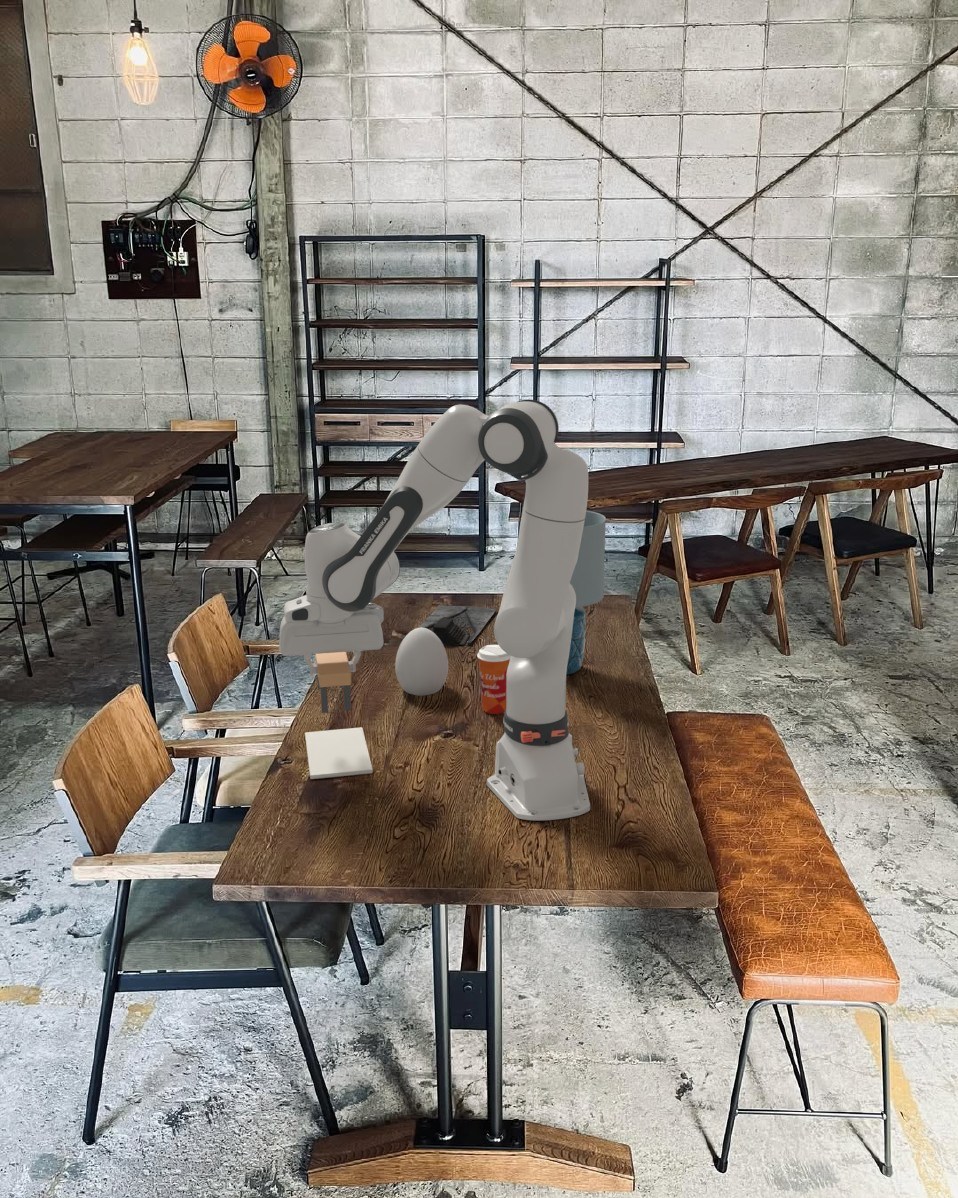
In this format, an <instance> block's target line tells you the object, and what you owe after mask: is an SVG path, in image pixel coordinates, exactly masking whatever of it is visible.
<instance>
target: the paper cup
mask: <svg viewBox="0 0 958 1198" xmlns="http://www.w3.org/2000/svg"><path fill="white" fill-rule="evenodd" d="M476 656H477V658H478V667H479V683H480V695H481V707H482V711H483V710H484V711H485V712H484V711H483V712H484V713H486V712H487V713H486V714H490V715H499V714H504V712H505V710H506V674H507V669H508V665H509V662H510V657H511V655H509V654H507V653H506V652H505V651H503V650H502V649H501V647H500V646H499V645H498V644H488V645H484V646H483V647H481V648H480V649H479V650H478V653H477V655H476Z"/></svg>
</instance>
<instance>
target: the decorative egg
mask: <svg viewBox="0 0 958 1198" xmlns="http://www.w3.org/2000/svg"><path fill="white" fill-rule="evenodd" d="M394 665H395V666H394V668H395V674H396V679H397V681H398V683H399V686H400V687H401V688H402V690H403V691H405V692H406V693H407V694H409V695H412V694H413V695H412V696H420V697H421V696H430V695H433V694H436V693H437V692H439V691H440V690H441V689H442V688H443V686H444V685H445V683H446V680H447V677H448V674H449V658H448V654H447V650H446V648H445V646H444V644H442V642H441V640H440V639H439V638H438V637H437V635H436V634H435V633H433V632H432V631H431V630H430V628H428V629H427V628H419V627H416V628H414V629H412V630H410V631H409V632H408V633H407V634H406V635H405V637H403V639H402V641H401V642H400V644H399V646H398V649H397V652H396V655H395V664H394Z"/></svg>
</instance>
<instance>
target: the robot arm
mask: <svg viewBox="0 0 958 1198" xmlns="http://www.w3.org/2000/svg"><path fill="white" fill-rule="evenodd" d="M558 436H559V421H558V418H557V416H556V414H555V412H554V411H553V410H552V408H550V406H548V405H547V404H546V403H544V402H542V401H539V400H536V399H529V398H528V399H521V400H518V401H515V402H510V403H507V404H505V405H503V406H501V407H500V408H498V409H497V410H495V411H493V412H491V414H489V415H487V414H485V413H483V412H482V411H480V410H479V409H477V408H475V407H474V406H470V405H468V404H455V405H453V406H451V407H449V408H448V409H447V410H446V411H445V412H444V413H443V414H441V416H439V418H438V419H437V420H436V421H435V422H434V424H433V425H432V426H431V427H430V428H429V429H428V430H427V432H426V433H425V434H424V436H423V437H422V439H421V440H420V442H419V443H418V444H417V446H416V447H415V449H414V450H413V452H412V453H411V455H410V457H409V459H408V460H407V462H406V464H405V465H404V467H403V470H402V471H401V473H400V475H399V477H398V479H397V480H396V482H395V484H394V486H393V488H392V489H391V491H390V493H389V495H388V496H387V498H386V500H384V501H385V502H384V503H383V505H382V506H381V507H380V509H379V511H378V512H377V514H376V515H375V516H374V518H372V520H371V521H370V523H369V524H368V525H367V527H366V529H365V530H364V531H363V532H362V533H361V535H360V534H358V533H356V532H354V531H353V530H352V529H351V528H350V527H349V526H348V525H347V524H345V523H343V522H329V523H324V524H321V525H318V526H316V527H314V528H312V529H311V530H309V531H308V532H307V534H306V536H305V540H304V541H305V543H304V573H305V575H306V577H307V584H306V587H305V588H306V589H305V592H306V594H305V595H302V596H300V597H297V598H295V599H291V600H289V601H286V602H285V603H284V605H283V614H284V616H283V618H282V619H281V621H280V625H279V626H280V627H279V637H278V642H279V643H278V644H279V645H278V646H279V647H278V648H279V650H278V651H279V652H280V654H281V655H282V656H284V657H289V656H291V657H292V656H303V661H304V662H305V663H306V664H307V666H308V667H309V675H310V676H313V675H315V676H316V675H317V674H318V671H317V670H318V668H317V664H316V663H313V662H312V660H311V659H312V655H315V654H321V653H335V652H346V653H348V652H352V654H353V657H352V658H351V660H350V661H349V660H348V663H349V667H350V671H351V673H354V672H356V669H357V668H356V667H357V666H356V665H357V663H358V662H359V660H360V657H361V655H362V651H373V650H378V651H379V650H380V649H382V647H384V644H385V643H384V635H383V628H382V623H383V622H384V619H385V611H384V609H383V607H382V606H381V605H379V604H377V603H374V602H372V601H373V600H374V599H376V598H377V597H378V596H380V595H381V594H382V593H384V592H385V591H386V590H388V588H390V587H391V586H392V585H393V584H395V582H396V581H397V580H398V578H399V575H400V571H401V565H400V564H401V563H400V559H399V557H398V556H397V555H398V554H397V553H396V552H395V550H396V549H397V548H398V546H399V545H400V544H401V542H402V541H403V540H404V539H405V537H407V535H408V534H409V533H410V532H411V531H413V530H414V529H415V528H416V527H417V526H418V525H420V524H421V523H422V522H425V521H426V520H428V518H430V517H432V516H433V515H435V514H437V513H438V512H439V511H441V510H442V509H444V508H445V507H446V506H448V505H449V504H450V503H451V501H453V500H454V499H455V498H456V497H457V496H458V495H459V494H460V493H461V492H462V490H463V489H464V488H465V486H466V485H467V484H468V483H469V481H470V480H471V478H472V477H473V475H474V474H475V472H476V470H478V468H479V467H480V466H481V464H482V463H484V462H486V463H487V464H488V465H490V466H491V467H492V468H495V469H496V470H497V471H500V472H503V473H505V474H508V475H509V476H511V477H513V478H515V479H516V480H518V481H525V495H524V499H523V500H524V501H523V506H522V512H521V518H520V524H519V530H518V537H517V542H516V548H515V553H514V557H513V559H512V564H511V567H510V570H509V573H508V577H507V580H506V583H505V587H504V591H503V595H502V598H501V602H500V607H499V610H498V613H497V615H496V618H495V622H494V625H493V626H494V627H493V634H494V638H495V640H496V643H497V645H499V646H500V647H501V649H502V650H503V651H505V652H506V653H507V654H509V655H511V657H510V662H509V665H508V669H507V674H506V710H505V712H504V713H503V714H504V715H503V718H502V719H503V720H502V721H503V722H502V723H503V730H504V733H503V734H502V736H501V737H500V739H499V740H497V742H496V743H495V744H496V745H495V746H496V747H495V760H494V761H495V762H494V763H495V764H494V774H493V775H491V776H489V777H488V778H487V779H486V786H487V787H488V789H489V790H491V791H492V793H493V794H494V795H495V796H496V797H497V798H498V799H499V800H500V801H501V802H502V803H503V804H504V806H505V807H506V808H507V809H508V810H509V811H510V812H511V814H513V815H514V816H515V817H516V819H521V820H523V821H524V820H526V821H554V820H563V819H569V818H574V817H578V816H581V815H583V814H586V813H588V812H589V811H591V803H590V799H589V798H590V797H589V794H588V789H587V786H586V782H585V781H586V779H585V777H584V775H585V769H586V767H585V763H584V762H582V761H581V762H576V756H578V755H579V749H578V748H576V747H574V746H573V736H572V734H570V731H569V729H570V728H569V725H570V724H569V718H568V711H567V709H566V698H567V697H566V695H567V693H566V691H567V690H566V689H567V675H566V672H567V664H568V658H569V652H570V645H571V637H572V628H573V618H574V611H575V606H576V594H575V591H574V589H573V587H572V585H571V584H570V581H571V577H572V574H573V571H574V568H575V566H576V563H577V560H578V554H579V549H580V543H581V538H582V532H583V527H584V521H585V515H586V511H587V508H588V497H589V467H588V464H587V462H586V461H585V459H584V458H583V457H582V456H580V455H579V454H577V453H576V452H574V451H571V450H567V449H562V448H561V447H559V446H558V445H557V444H556V443H557V440H558Z"/></svg>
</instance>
